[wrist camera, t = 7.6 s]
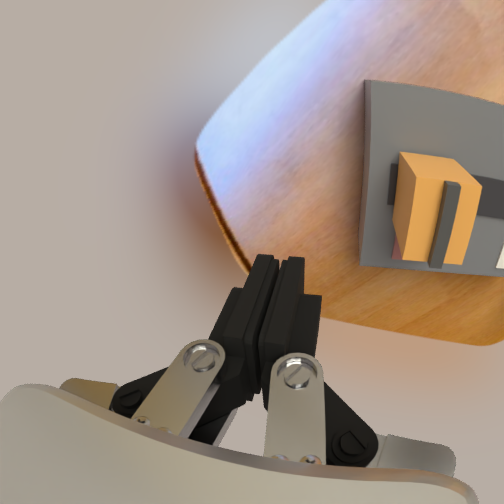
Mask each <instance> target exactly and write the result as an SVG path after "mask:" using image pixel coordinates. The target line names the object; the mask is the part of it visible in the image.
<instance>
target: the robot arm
mask: <svg viewBox="0 0 504 504" xmlns="http://www.w3.org/2000/svg"><path fill="white" fill-rule="evenodd" d="M304 267H305V259H304V257H291V256H289V258H288V260H283V261H282V264H281V267H280V270H279V260H277V259H274V256H273V255H264V254H258V255H257V257H256V259H255V261H254V264H253V266H252V268H251V271H250V273H249V275H248V278H247V280H246V282H245V285H244V287H243V288H237V287H234V288H233V289H232V290H231V292H230V294H229V296H228V298H227V300H226V303H225V305H224V307H223V309H222V311H221V313H220V315H219V317H218V320H217V322H216V324H215V326H214V328H213V330H212V332H211V334H210V337H209V339H208V340H207V339H204V340H197V341H193V342H191V343H189V344H188V345H186V346H185V347H184V348H183V349H182V350H181V351H180V353H179V354H178V355H177V357H176V358H175V359H174V361H173V362H172V363H171V365H170V366H169V367H167V368H164V369H162V370H159V371H157V372H154V373H152V374H150V375H147V376H145V377H142V378H140V379H137V380H134V381H132V382H129V383H127V384H125V385H123V386H121V387H119V386H118V385H117V384H114V383H106V382H98V381H91V380H84V379H78V378H71V379H69V380H66V381H65V382H64V383H63V384H62V385H61V386H60V388H56V387H52V386H48V385H42V384H24V385H20V386H17V387H15V388H13V389H12V390H11V391H10V392H9V393H7V395H6V396H5V397H4V398H3V399H2V400H1V402H0V504H479V501H478V498H477V495H476V494H475V492H474V490H473V489H472V488H471V487H470V486H469V485H467V484H466V483H464V482H462V481H460V480H458V479H456V478H453V476H454V471H455V466H456V457H455V455H454V452H453V451H452V450H451V449H450V448H449V447H447V446H444V445H441V444H435V443H429V442H424V441H419V440H413V439H408V438H404V437H399V436H394V435H390V434H388V435H387V436H383V435H379V434H375V433H374V431H373V430H372V429H371V428H370V427H369V426H368V425H367V424H366V423H365V422H364V421H363V420H362V419H361V418H360V417H359V416H358V415H357V414H356V413H355V412H354V411H353V410H352V409H351V408H350V407H349V406H348V405H347V404H346V403H345V402H344V401H343V400H342V399H341V398H340V397H339V396H338V395H337V394H336V393H335V392H334V391H333V390H332V389H331V388H330V387H329V386H328V385H327V384H326V383H325V382H324V379H323V370H322V366H321V364H320V363H319V362H318V360H316V359H315V351H316V344H317V337H318V330H319V321H320V312H321V301H322V296H320V295H309V294H304ZM261 388H262V393H263V402H264V408H265V409H266V410H267V412H268V415H267V426H266V436H265V446H264V447H265V448H264V456H263V457H262V456H257V455H252V454H247V453H242V452H237V451H233V450H229V449H224V448H220V447H218V446H219V444H220V442H221V440H222V439H223V437H224V435H225V433H226V431H227V430H228V428H229V426H230V424H231V422H232V420H233V419H234V417H235V415H236V413H237V409H238V407H240V406H242V405H244V404H245V403H246V400H247V401H252V400H253V396H254V393H255V394H260V391H261Z"/></svg>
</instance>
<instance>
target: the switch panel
mask: <svg viewBox="0 0 504 504" xmlns="http://www.w3.org/2000/svg"><path fill="white" fill-rule="evenodd" d="M400 152H407V153H415V154H423V155H430V156H437V157H444V158H450V159H454V160H455V161H456V162H458V163H459V164H460V165H461V166H462V167H463V168H464V169H465V170H466V171H467V172H468V173H469V174H470V175H471V176H472V177H473V178H474V179H475V180H476V181H477V182H478V183H479V184H480V185H481V186H482V190H481V195H480V200H479V204H478V209H477V213H476V217H475V221H474V225H473V229H472V232H471V236H470V240H469V243H468V246H467V250H466V253H465V256H464V259H463V263H462V265H458V264H447V263H443V265H442V269H437V268H429V265H428V262H423V261H412V260H402V256H401V252H400V248H399V244H398V240H397V236H396V232H395V228H394V225H393V221H392V218H393V210H394V203H395V195H396V186H397V177H398V166H399V154H400ZM358 243H359V265H360V266H372V267H384V268H397V269H409V270H421V271H434V272H447V273H459V274H472V275H485V276H498V277H504V105H502V104H499V103H495V102H492V101H488V100H484V99H481V98H477V97H473V96H469V95H464V94H460V93H455V92H451V91H446V90H440V89H435V88H429V87H423V86H417V85H410V84H403V83H395V82H386V81H377V80H365V138H364V164H363V182H362V196H361V209H360V220H359V230H358Z"/></svg>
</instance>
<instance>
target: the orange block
mask: <svg viewBox="0 0 504 504" xmlns="http://www.w3.org/2000/svg"><path fill="white" fill-rule="evenodd" d="M481 190H482V186H481V185H480V184H479V183H478V182H477V181H476V180H475V179H474V178H473V177H472V176H471V175H470V174H469V173H468V172H467V171H466V170H465V169H464V168H463V167H462V166H461V165H460V164H459V163H458V162H456V161H455V160H454V159H450V158H444V157H437V156H430V155H423V154H415V153H407V152H400V154H399V166H398V177H397V186H396V195H395V203H394V210H393V218H392V221H393V225H394V228H395V232H396V236H397V240H398V244H399V248H400V252H401V256H402V260H412V261H423V262H428V265H429V268H437V269H442V265H443V263H447V264H458V265H462V263H463V259H464V256H465V253H466V250H467V246H468V243H469V240H470V236H471V232H472V229H473V225H474V221H475V217H476V213H477V209H478V204H479V200H480V195H481Z"/></svg>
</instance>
